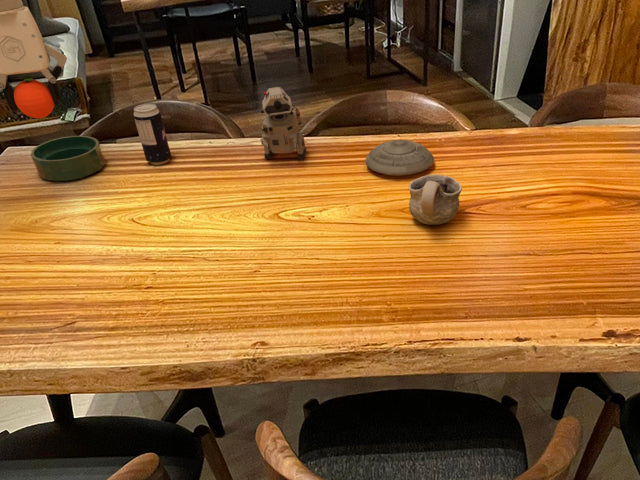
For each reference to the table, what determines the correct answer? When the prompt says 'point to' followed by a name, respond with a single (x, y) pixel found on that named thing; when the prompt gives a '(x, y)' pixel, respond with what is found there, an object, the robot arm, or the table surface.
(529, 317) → the table surface
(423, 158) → the flying saucer
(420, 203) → the mug
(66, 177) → the bowl
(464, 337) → the table surface
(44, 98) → the clementine
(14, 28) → the robot arm
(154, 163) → the beverage can
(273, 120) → the figurine
